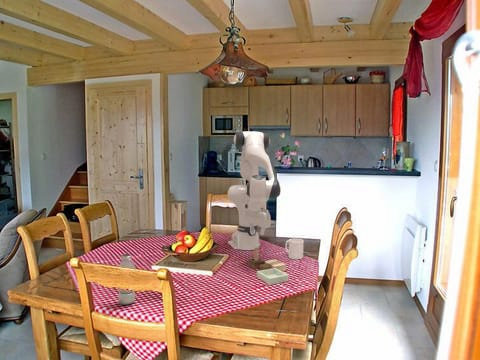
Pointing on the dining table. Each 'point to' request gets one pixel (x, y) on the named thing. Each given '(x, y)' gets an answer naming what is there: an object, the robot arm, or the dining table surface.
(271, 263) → the board
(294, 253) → the cup
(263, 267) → the small brown block
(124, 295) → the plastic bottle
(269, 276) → the tray
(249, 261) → the socket block
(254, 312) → the dining table surface
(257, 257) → the dowel
